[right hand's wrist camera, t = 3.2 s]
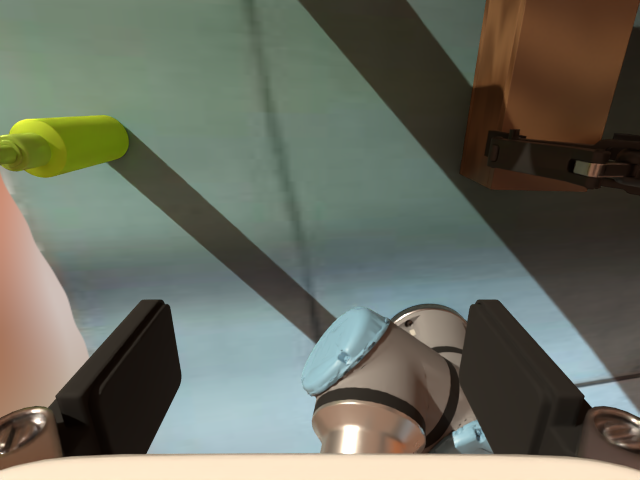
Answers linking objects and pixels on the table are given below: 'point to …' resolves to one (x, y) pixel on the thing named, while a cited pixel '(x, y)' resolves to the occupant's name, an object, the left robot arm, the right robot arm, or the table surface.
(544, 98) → the wooden box
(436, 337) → the left robot arm
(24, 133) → the soap dispenser
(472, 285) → the table surface
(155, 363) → the right robot arm
